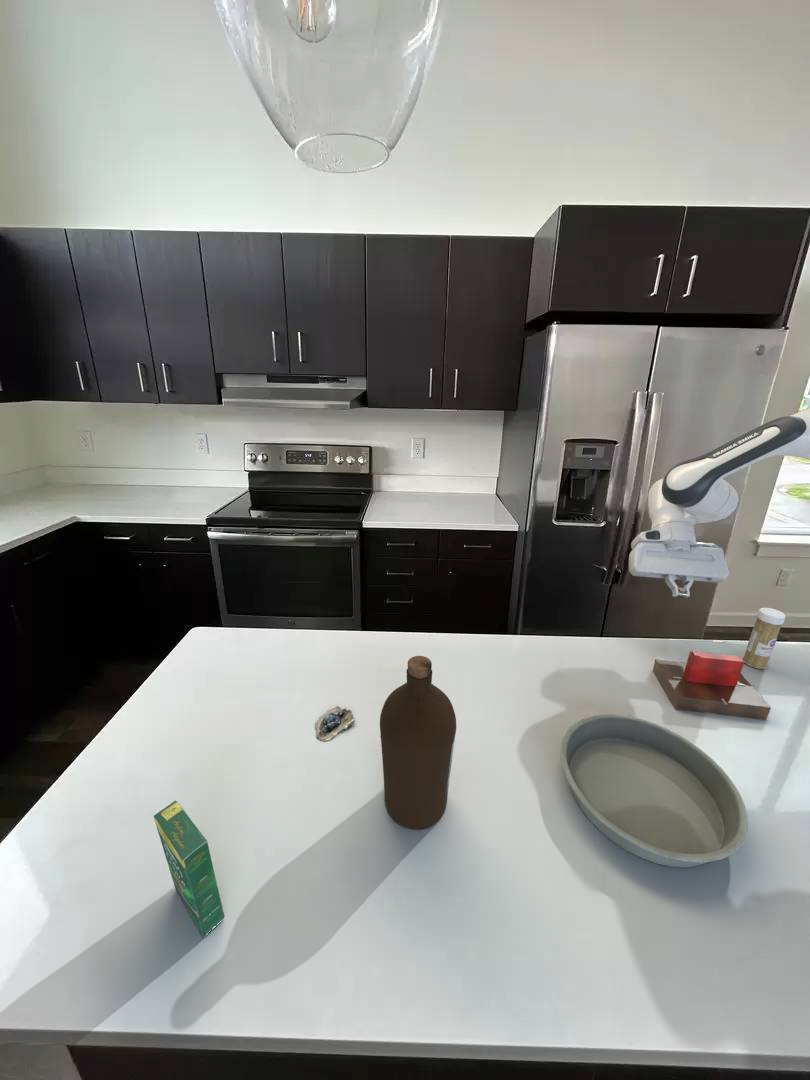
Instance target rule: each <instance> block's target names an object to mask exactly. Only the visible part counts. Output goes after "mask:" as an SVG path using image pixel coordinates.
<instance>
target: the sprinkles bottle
mask: <svg viewBox="0 0 810 1080" xmlns="http://www.w3.org/2000/svg"><path fill="white" fill-rule="evenodd" d="M786 617H787V616H786V614H785V613H784V612H782V611H780V610H778V609H775V608H771V607H761V608H759V609H758V611H757V613H756V620H755V623H754V626H753V628H752V631H751V634H750V636H749V639H748V642H747V644H746V650H745V652H744V656H743V657H742V660H743V661H744V664H745V665H747V666H749V667H751V668H754V669H757V670H758V669H759V670H764V669H767V668H768V663H769V661H770V658H771V656H772V654H773V651H774V649H775V645H776V644H777V639H778V637H779V634H780V630H781V628H782V626H783V625H784V623H785V620H786Z"/></svg>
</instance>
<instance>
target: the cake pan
mask: <svg viewBox="0 0 810 1080" xmlns="http://www.w3.org/2000/svg"><path fill="white" fill-rule="evenodd" d="M560 762H561V767H562V771H563V772H564V776H565V778H566V780H567V782H568V784H569V788H570V790H571V793H572V795H573V798H574V800H575V801H576V803H577V805H578V807H579V808H580V810H581V811H582V812H583V814H584V815H585V817H586V818H587V819H588V820H589V821H590V822H591V823H592V825H593V826H594V827H595V828H596V829H597V830H599V831H600V832H601V833H602V834H603V835H604V836H605V837H607V838H608V839H609V840H610V841H611V842H613V843H614V844H615V845H617V846H619V847H621V849H624V850H625V851H627V852H629V853H630V854H633V855H634V856H637V857H639V858H641V859H643V860H646V861H649V862H652V863H654V864H658V865H661V866H666V867H672V868H673V867H674V868H694V867H697V866H702V865H704V864H707V863H710V862H715V861H720V860H723V859H725V858H727V857H730V856H731V855H733V854H734V853H735V852H737V851H738V850H739V849H740V848H741V847H742V846H743V844H744V842H745V840H746V837H747V835H748V830H749V816H748V812H747V808H746V805H745V802H744V800H743V798H742V796H741V793H740V791H739V789H738V788H737V787H736V785H735V783H734V782H733V780H731V778H730V776H729V775H728V773H726V772H725V770H724V769H723V768H722V767H721V766H720V765H719V764H718V763H717V762H716V761H715V760H714V759H713V758H712V757H710V756H709V755H708V754H707V753H706V752H705V751H704V750H702V749H701V748H700V747H698V746H697V745H695V744H694V743H693V742H691V741H690V740H688V739H687V738H685V737H683V736H682V735H680V734H678V733H676V732H674V731H673V730H671V729H668V728H666V727H664V726H662V725H659V724H657V723H654V722H651V721H648V720H647V719H642V718H638V717H635V716H630V715H625V714H624V715H623V714H613V713H612V714H611V713H609V714H607V713H606V714H605V713H604V714H598V715H597V714H596V715H591V716H588V717H584V718H582V719H581V720H578V721H577V722H575V723H574V724H573V725H571V726H570V727H569V728H568V730H567V731H566V732H565V734H564V736H563V738H562V740H561V744H560Z"/></svg>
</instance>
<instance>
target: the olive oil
mask: <svg viewBox="0 0 810 1080" xmlns="http://www.w3.org/2000/svg"><path fill="white" fill-rule="evenodd" d="M432 668H433V663H432V660H431V659H430V658H429V657H427V656H424V655H415V656H412V657H410V658H408V660H407V668H406V682H404V683H403V684H402V685H399V687H396V688H395V689H393V691H392V692H390V694H388V696H387V698H386V699H385V701H384V703H383V705H382V708H381V711H380V716H379V734H380V744H381V745H380V746H381V759H382V774H383V795H384V804H385V805H384V806H385V808H386V812H387V814H388V816H389V817H390V818H391V819H392V820H393V821H394V822H395V823H396V824H398V825H399V826H401V827H402V828H406V829H408V830H409V829H410V830H424V829H428V828H430V827H432V826H434V825H435V824H437V823H438V822H439V821H440V820H441V819H442V817H443V815H444V814H445V811H446V808H447V805H448V794H449V787H450V779H451V778H450V777H451V770H452V764H453V763H452V762H453V756H454V755H453V754H454V749H455V748H454V747H455V742H456V741H455V740H456V734H457V716H456V712H455V709H454V706H453V704H452V701H451V700H450V698H449V696H448V695H447V694H446V693H445V692H444V691H442V689H440V688H439V687H438V686H436V685H434V684H433V683H432V681H433V669H432Z"/></svg>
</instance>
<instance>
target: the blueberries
mask: <svg viewBox="0 0 810 1080" xmlns="http://www.w3.org/2000/svg"><path fill="white" fill-rule="evenodd" d="M355 721H356V720H355V717H354V714H353V710H350V709H347V708H346V707H345V708H341V706H340V705H338V706H337V705H336V706H334V707H332V708H330V709H328V710H326V712H324V713H323V714H322V715H321V716H319V717H318V719H317V721H316V722H314V723H315V725H314V726H315V727H314V728H315V729H316V730H315V732H316V736H315V737H316V738H317V740H319V741H323V742H327V741H331V740H332V738H334V737H336V736H337V735H338V733H339V732H340V733H342V731H343V730H344V729H345V730H346V729H348V727H350V726H353V725H354V724H355Z"/></svg>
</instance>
